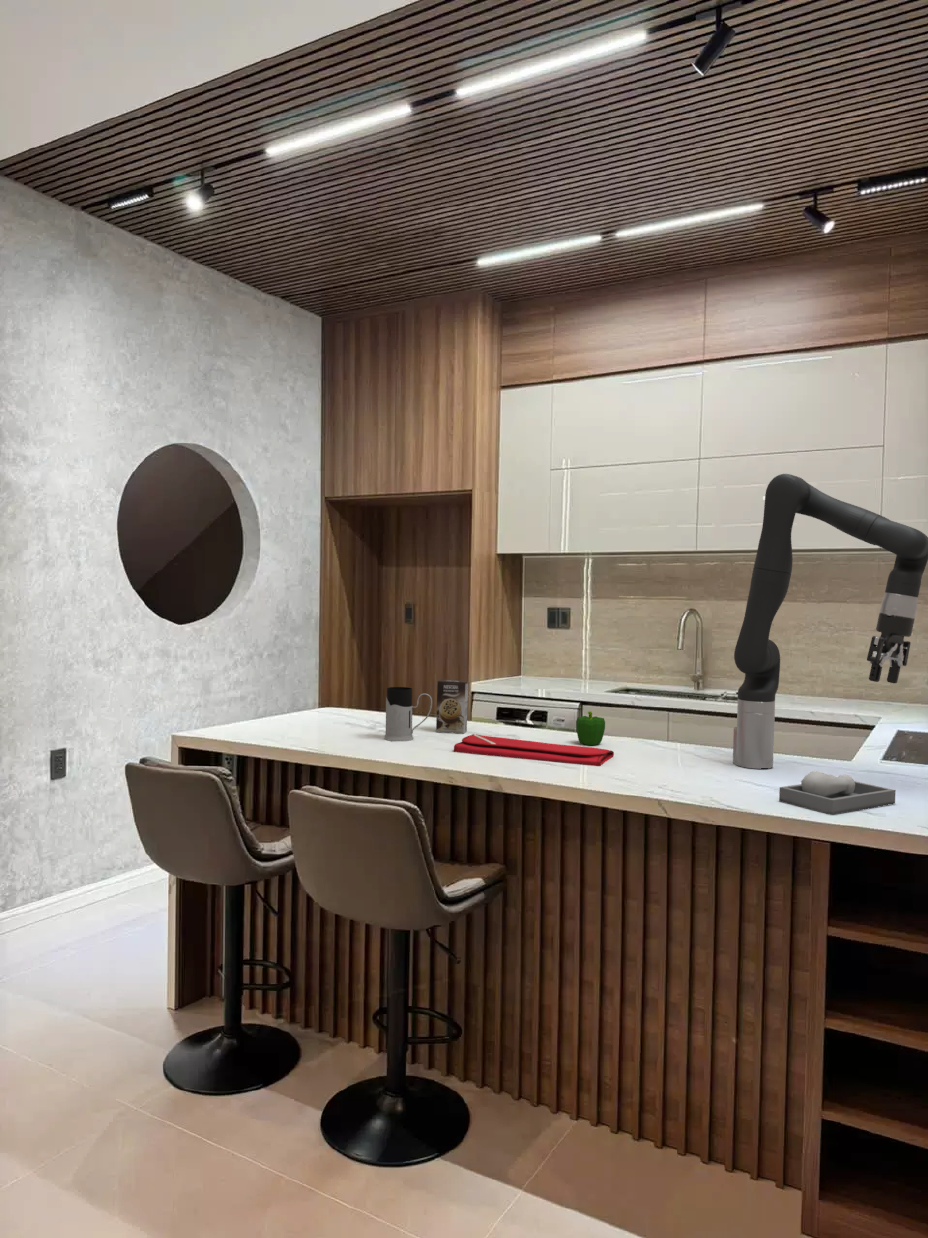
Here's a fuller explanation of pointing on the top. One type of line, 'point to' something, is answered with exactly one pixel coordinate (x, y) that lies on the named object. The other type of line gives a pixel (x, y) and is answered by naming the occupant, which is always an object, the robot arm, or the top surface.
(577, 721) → the bell pepper
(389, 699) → the glass holder
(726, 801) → the top surface
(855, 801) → the charcoal tray
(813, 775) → the salt shaker
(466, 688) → the coffee box
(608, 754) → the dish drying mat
